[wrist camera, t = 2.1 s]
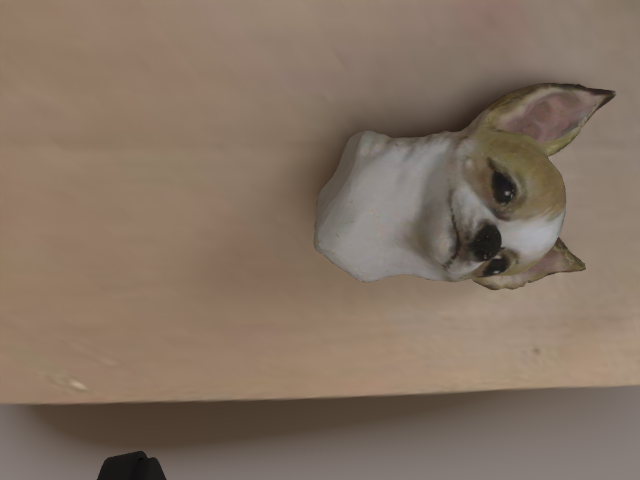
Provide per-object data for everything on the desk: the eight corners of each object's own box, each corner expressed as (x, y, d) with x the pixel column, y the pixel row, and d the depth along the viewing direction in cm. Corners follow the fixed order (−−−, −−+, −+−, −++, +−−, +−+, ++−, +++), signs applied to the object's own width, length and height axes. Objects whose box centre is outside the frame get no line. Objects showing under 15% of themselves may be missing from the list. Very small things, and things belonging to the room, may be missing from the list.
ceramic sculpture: (313, 125, 19) (712, 99, 21) (293, 87, 27) (583, 69, 29) (324, 375, 24) (653, 338, 25) (304, 279, 32) (555, 256, 33)
